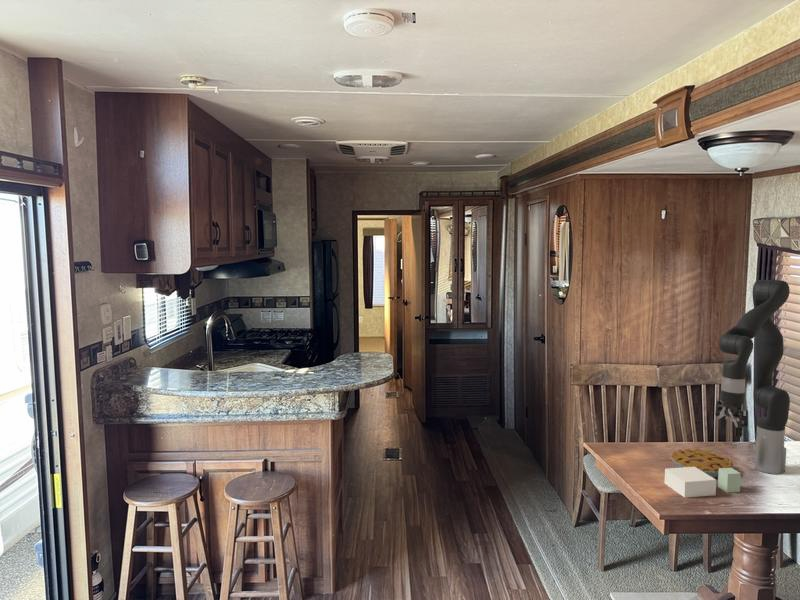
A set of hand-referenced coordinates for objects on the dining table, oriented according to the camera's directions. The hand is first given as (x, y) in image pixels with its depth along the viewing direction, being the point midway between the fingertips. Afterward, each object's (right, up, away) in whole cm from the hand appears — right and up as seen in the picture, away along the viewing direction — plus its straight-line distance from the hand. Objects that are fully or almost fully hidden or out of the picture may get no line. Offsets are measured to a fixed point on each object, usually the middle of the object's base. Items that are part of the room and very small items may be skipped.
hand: (730, 433), depth 205 cm
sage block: (0, -21, +1) cm, 21 cm away
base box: (-14, -21, +2) cm, 25 cm away
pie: (0, -19, +20) cm, 28 cm away
